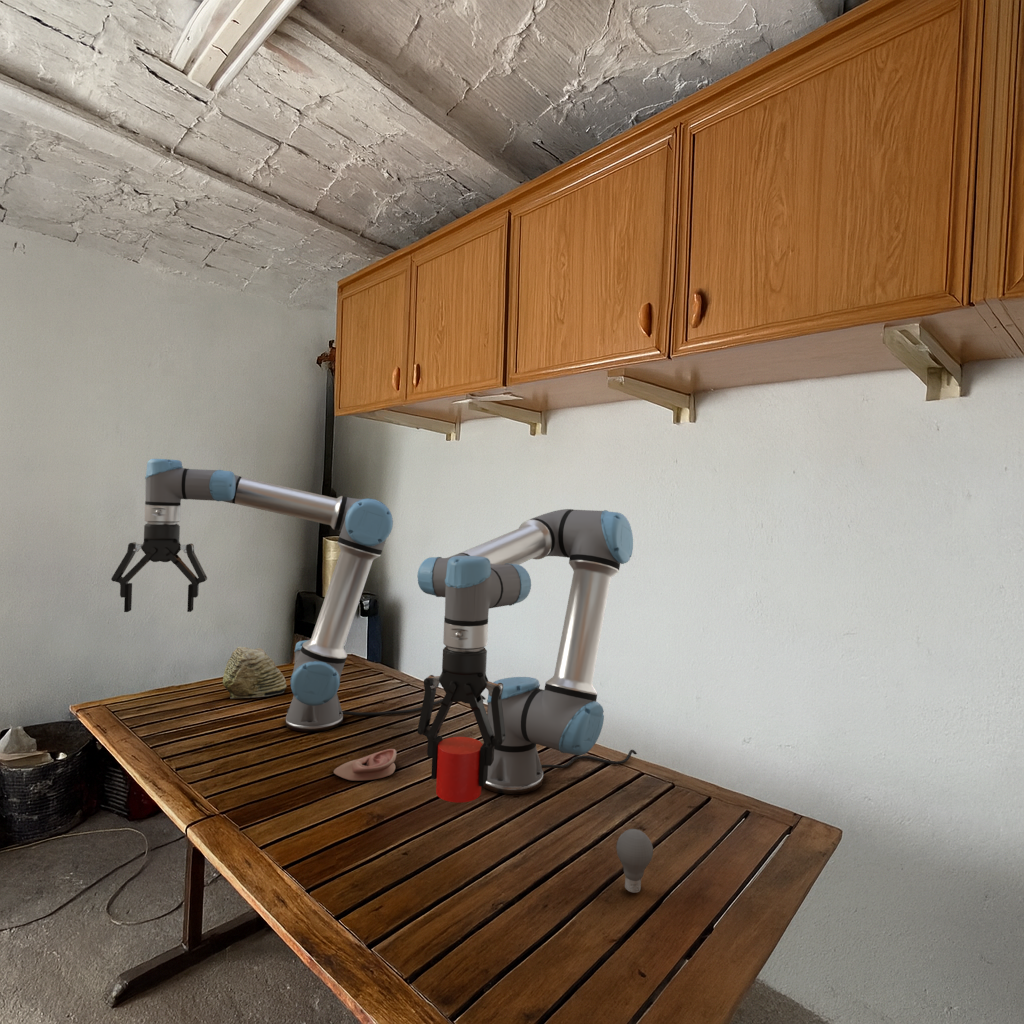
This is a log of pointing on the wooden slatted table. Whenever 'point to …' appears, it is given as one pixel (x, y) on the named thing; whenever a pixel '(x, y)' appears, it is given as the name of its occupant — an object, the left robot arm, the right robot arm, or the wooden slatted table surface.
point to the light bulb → (634, 857)
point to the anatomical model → (369, 766)
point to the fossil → (252, 674)
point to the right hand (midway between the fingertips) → (459, 779)
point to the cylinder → (458, 769)
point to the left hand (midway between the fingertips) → (159, 611)
